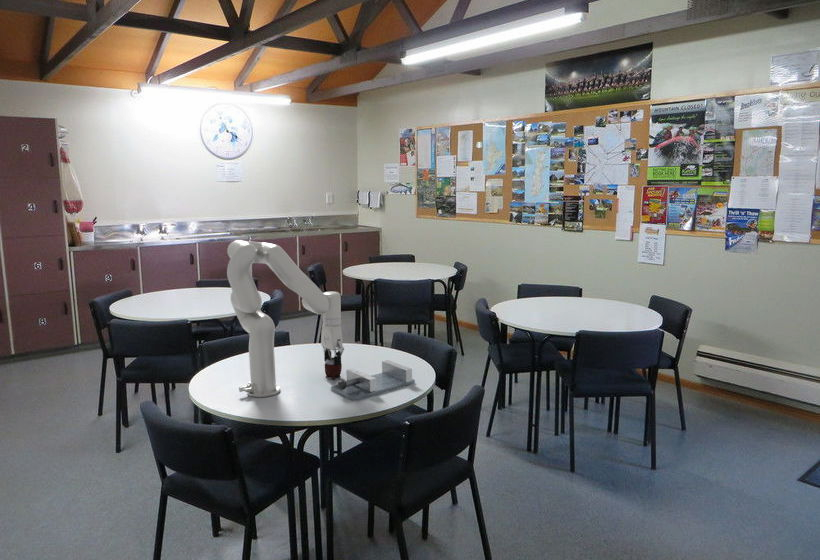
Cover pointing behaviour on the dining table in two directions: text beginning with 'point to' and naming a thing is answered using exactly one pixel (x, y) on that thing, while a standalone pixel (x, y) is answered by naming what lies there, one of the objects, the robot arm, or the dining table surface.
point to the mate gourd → (332, 368)
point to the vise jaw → (358, 380)
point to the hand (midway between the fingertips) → (332, 362)
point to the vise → (380, 382)
